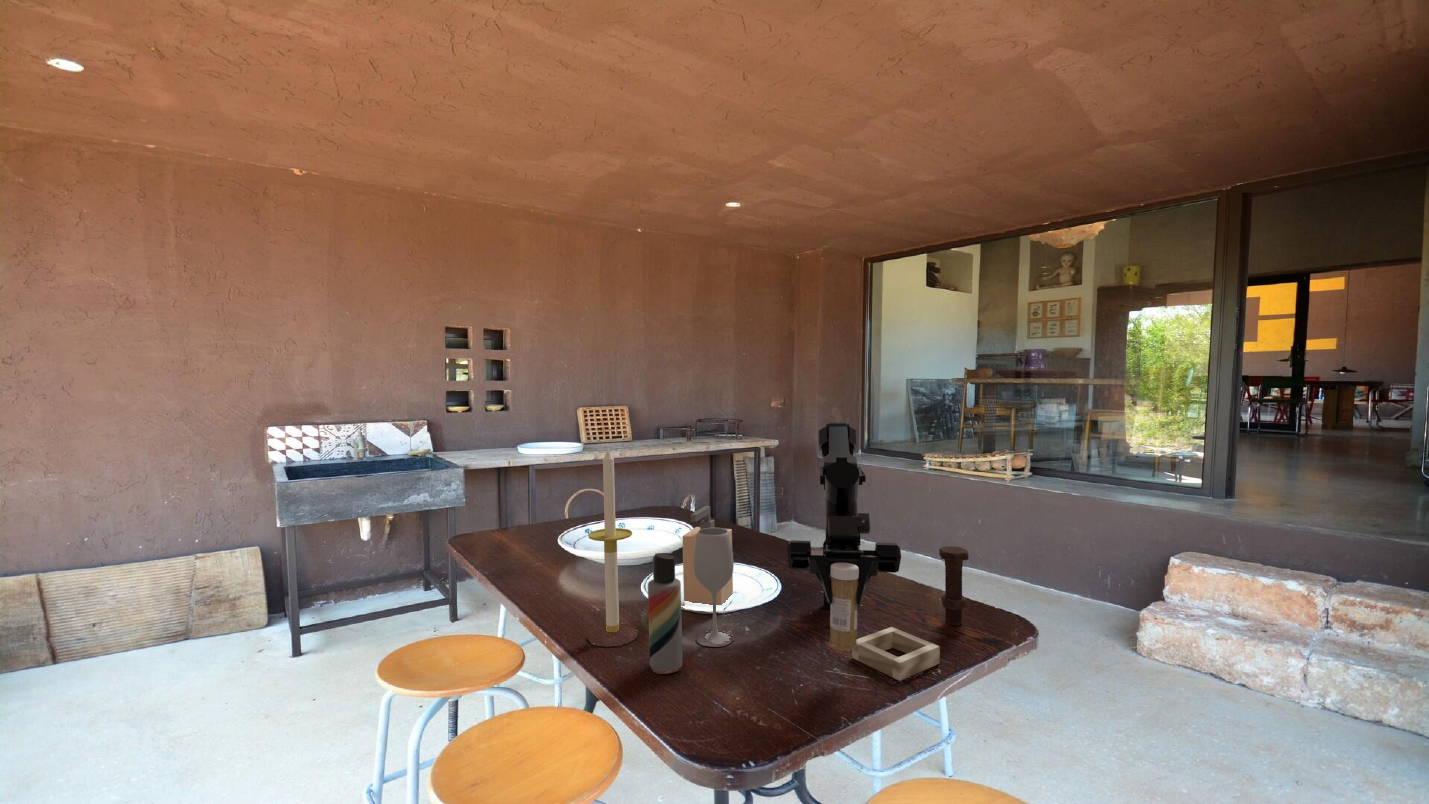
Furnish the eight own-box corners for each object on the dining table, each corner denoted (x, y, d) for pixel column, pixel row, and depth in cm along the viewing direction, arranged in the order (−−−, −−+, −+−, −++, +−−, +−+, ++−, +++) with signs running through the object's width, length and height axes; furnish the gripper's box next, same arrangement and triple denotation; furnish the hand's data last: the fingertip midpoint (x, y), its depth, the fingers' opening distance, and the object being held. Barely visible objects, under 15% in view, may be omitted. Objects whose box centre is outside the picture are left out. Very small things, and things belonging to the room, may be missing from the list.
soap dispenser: (697, 596, 143) (695, 501, 143) (733, 600, 141) (731, 503, 140) (676, 617, 131) (673, 513, 131) (714, 621, 129) (712, 515, 128)
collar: (899, 680, 102) (899, 663, 102) (852, 657, 111) (852, 641, 111) (939, 663, 108) (939, 646, 108) (891, 642, 117) (891, 626, 117)
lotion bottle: (650, 661, 111) (647, 550, 110) (682, 659, 112) (679, 548, 111) (649, 676, 106) (646, 559, 105) (683, 674, 106) (680, 558, 105)
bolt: (970, 630, 122) (969, 554, 121) (942, 628, 123) (942, 553, 122) (964, 618, 128) (964, 546, 127) (938, 617, 129) (938, 545, 128)
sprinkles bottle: (862, 648, 103) (864, 566, 103) (844, 654, 100) (846, 570, 100) (840, 639, 106) (842, 560, 106) (822, 645, 103) (824, 564, 103)
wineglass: (739, 634, 122) (737, 527, 121) (727, 650, 115) (725, 537, 114) (703, 629, 125) (701, 525, 124) (689, 645, 117) (687, 535, 117)
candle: (576, 637, 122) (571, 446, 120) (617, 622, 129) (612, 441, 128) (608, 652, 115) (602, 450, 114) (649, 635, 122) (644, 445, 121)
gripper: (787, 494, 107) (784, 578, 97) (899, 495, 104) (908, 583, 94) (790, 527, 116) (787, 609, 105) (894, 530, 112) (902, 614, 102)
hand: (844, 603), depth 101 cm, fingers closed on sprinkles bottle, 4 cm apart
